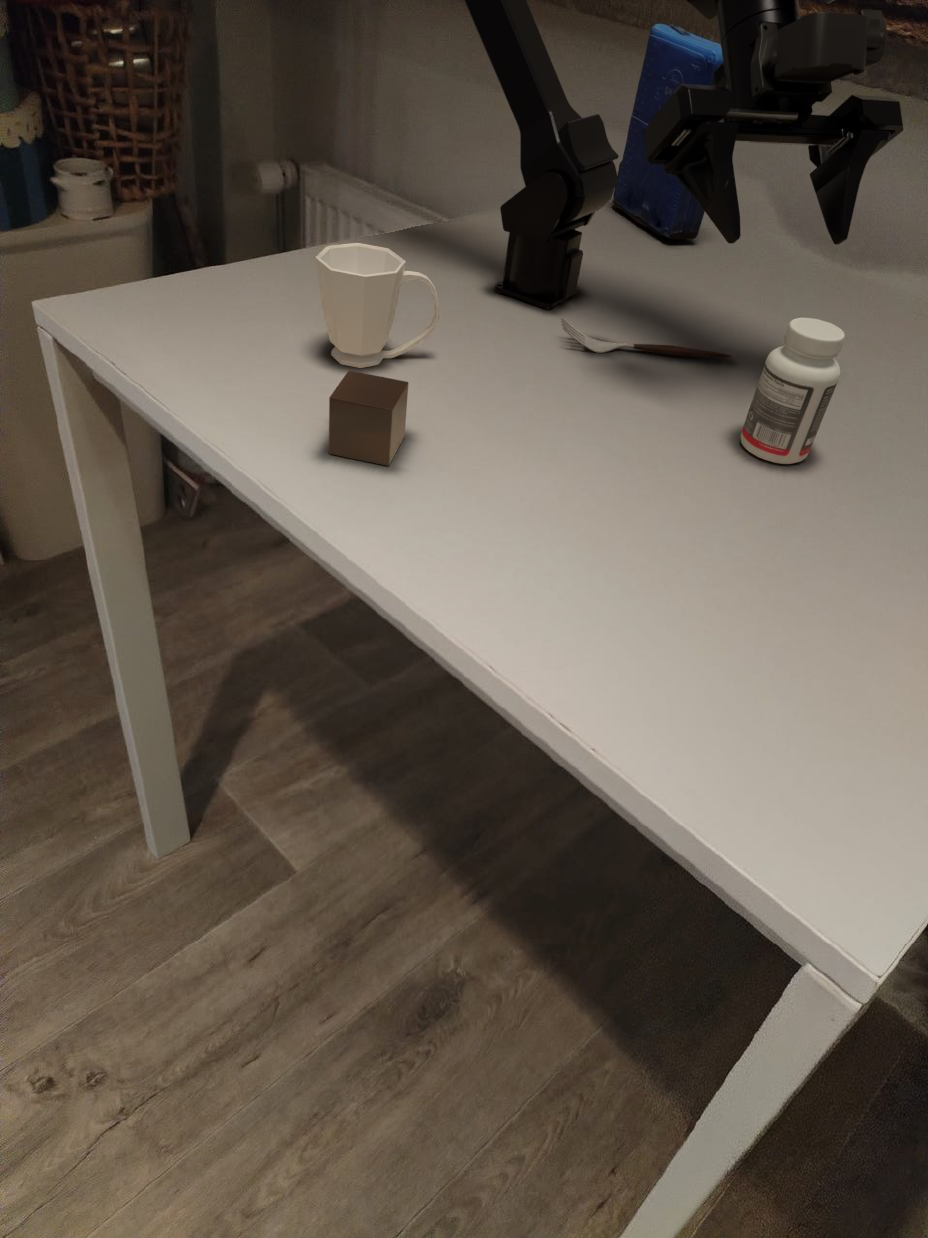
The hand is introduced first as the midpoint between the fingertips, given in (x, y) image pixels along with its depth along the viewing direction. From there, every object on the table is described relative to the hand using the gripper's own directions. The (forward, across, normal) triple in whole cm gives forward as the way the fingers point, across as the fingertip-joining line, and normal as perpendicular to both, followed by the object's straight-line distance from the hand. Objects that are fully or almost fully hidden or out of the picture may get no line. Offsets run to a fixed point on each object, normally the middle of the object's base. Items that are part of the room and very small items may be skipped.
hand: (788, 241), depth 67 cm
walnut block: (+12, -32, +8) cm, 35 cm away
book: (-22, +13, +41) cm, 48 cm away
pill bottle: (+14, 0, +5) cm, 15 cm away
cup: (+2, -28, +18) cm, 33 cm away
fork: (+2, -3, +17) cm, 18 cm away
